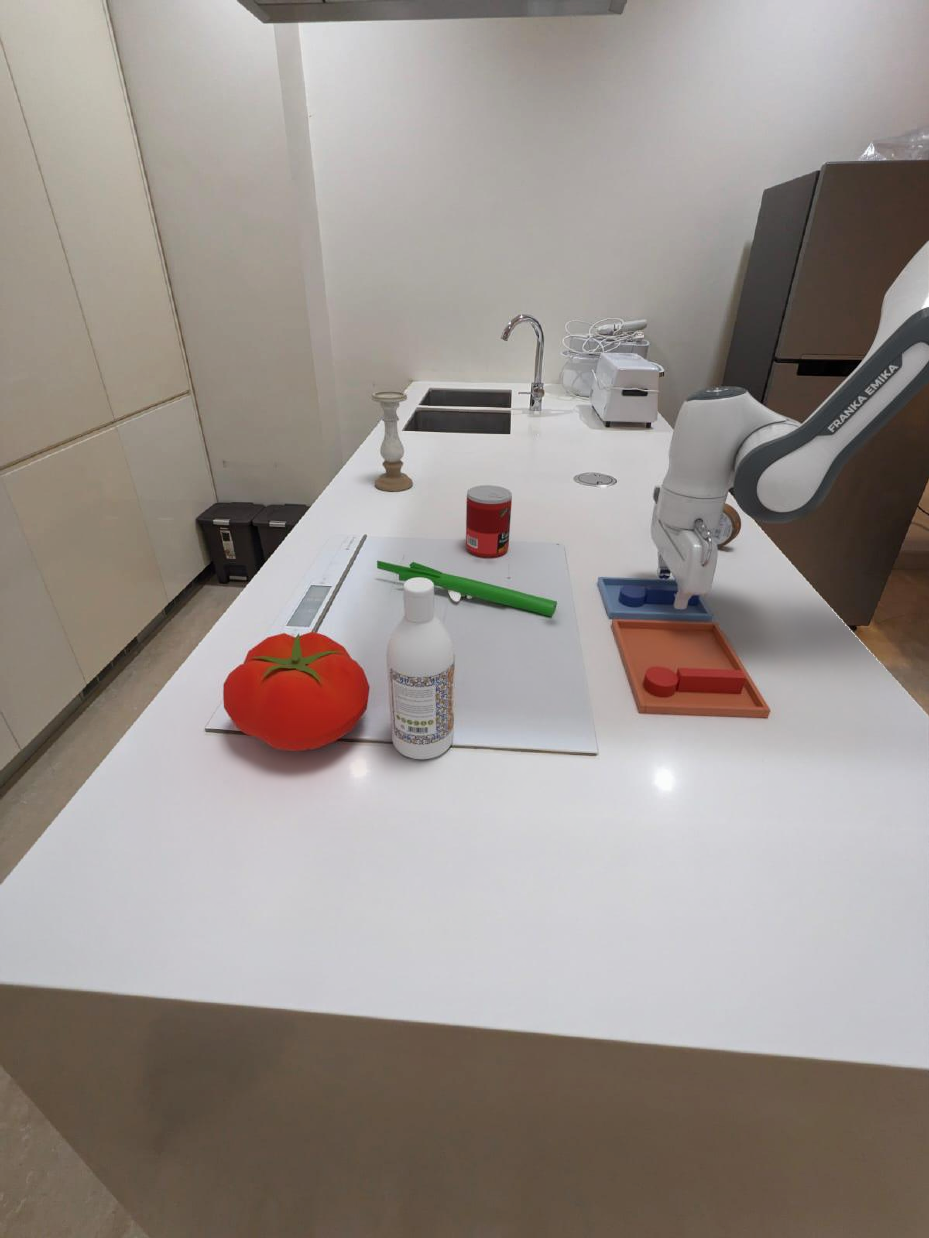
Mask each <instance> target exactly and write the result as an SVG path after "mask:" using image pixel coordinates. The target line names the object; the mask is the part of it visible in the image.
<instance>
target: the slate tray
mask: <svg viewBox="0 0 929 1238" xmlns="http://www.w3.org/2000/svg"><path fill="white" fill-rule="evenodd" d="M597 577H598V578H597V582H596V583H597V588H598V590H599V593H600V596H601V599H602V602H603V603H602V604H603V607H604V608H605V612H606V615H607V618H608V620H612V619H630V620H659V621H688V622H712V619H713V614H712V612H711V610H710V609H709V607H708V605H707V604H706V603H705V600H704V599H703V597H702V595H699V598H698V602H697V605H696V606H690V605H687V607H686V608H685V609H675V608H674V606H673V605H663V604H645V602H644V605H643V606H641V607H628V606H625V605H623V604H621V603H620V602H619V593H620V589H621V587H623V586H626V585H634V586H638V587H641V588H643V589H644V590H645V588H646V585H665V586H678V584H677V582H676V581H675V579H674V578H668V579H660V578H644V577H642V578H641V577H618V576H617V577H616V576H615V577H614V576H597Z"/></svg>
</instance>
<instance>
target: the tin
mask: <svg viewBox="0 0 929 1238" xmlns="http://www.w3.org/2000/svg"><path fill="white" fill-rule="evenodd" d="M709 530H710V531H711V532H712V538H713V539H714V541H715V542H716V544H717V547H718V548H721V547H724V546H727V545H729V544H731V542H732V541H733V540H734V539H736V538H737V537H738V535H739V534H740V532H741V530H742V519H741V516H740V514H739V512H738V511H737V510H736V509H735V507H733V505H730V504H728V503H726V502H725V506H724V510H723V513H722V517H721V521H720V524H719V525H718V526H717V527H715V528H712V529H709Z"/></svg>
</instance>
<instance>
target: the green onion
mask: <svg viewBox="0 0 929 1238" xmlns="http://www.w3.org/2000/svg"><path fill="white" fill-rule="evenodd" d="M408 566H409V567H408ZM408 566H403V565H398V564H394V563H391V562H387V561H381V560H376V568H377V569H378V570H382V571H385V572H389V573H393V574H397V575H398V581H399V582H406V581H407V580H409V579H411V578H417V577H421V578H427V579H429V580H431V581H432V582H433V584H434V587H439V588H442V589H445V590H448V591H447V594H448V595H449V597H450V599H451V600H452V601H454V602H456V603H457V602H459V601H461V598H462V597H463V598H465V597H466V599H468V600H471V599H472V598H478V599H481V600H485V601H489V602H492V603H497V604H500V605H503V606H507V607H511V608H516V609H520V610H524V611H528V612H532V613H536V614H539V615H542V616H547V617H549V618H552V617H553V616H554V614H555V612H556V609H557V606H558V601H557V600H553V599H549V598H545V597H542V596H541V597H540V596H536V595H533V594H529V593H525V592H521V591H518V590H514V589H510V588H507V587H503V586H498V585H495V584H491V583H487V582H483V581H479V580H475V579H471V578H467V577H463V576H458V575H453V574H449V573H444V572H442V571H440V570H438V569H434V568H432V567H429V566H427V565H424V564H420V563H417V562H415V561H412V562H411V563H410V564H409V565H408Z"/></svg>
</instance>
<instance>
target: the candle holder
mask: <svg viewBox="0 0 929 1238" xmlns="http://www.w3.org/2000/svg"><path fill="white" fill-rule="evenodd" d="M371 400H372V401H374V402H377V403H379V406H380V407H381V409H382V411H383V416H382V418H381V421H382V422H383V423H384V436H383V439H382V442H381V445H380V449H379V452H380V456H381V457H382V460H383V462H382V466H383V468H384V469H385V472H383V473H381V474H380V475H379V476H378V478H376V479H375V480H374V486H375V487H376V489H378V490H381V491H385V492H401V491H406V490H408V489H410V488H412V487H413V483H414V482H413V479H412V478H411V477H410V476H408V475H407V473H404V472H402V467H403V466H404V462H403V461H402V458H404V455H405V449H404V446H403V443H402V441H401V439H400V437H399V432H398V422H399V421H400V417H399V415H398V413H397V412H398V411H397V410H398V409H399V407H400V403H401V402H405V401H407V400H408V395H407V394H406V393H405V392H403V391H399V390H398V391H397V390H396V391H395V390H383V391H376V392H373V393H372V394H371Z"/></svg>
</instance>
